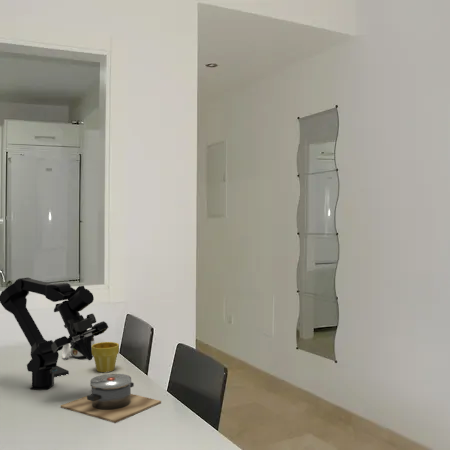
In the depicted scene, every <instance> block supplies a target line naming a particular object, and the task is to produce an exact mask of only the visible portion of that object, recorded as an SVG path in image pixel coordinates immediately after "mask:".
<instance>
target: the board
mask: <svg viewBox="0 0 450 450" xmlns="http://www.w3.org/2000/svg"><path fill="white" fill-rule="evenodd" d="M160 404H162V400H158V399H154V398H151V397H150V398H149V397H147V396H142V395H137V394H133V393H131V403H130V404H129V405H128V406H126V407H123V408H119V409H114V410H100V409H96V408H94V407H92V401H91V400H87V395H85V396H83V397H80V398H78V399H75V400H72V401H68V402H67V403H66V402H65V403H63V404H61V405H60V408H62V409H64V410H65V409H66V410H69V411H73V412H76V413H78V414H79V413H80V414H82V415H87V416H90V417H93V418H97V419H101V420H105V421H106V422H107V421H108V422H111V423H114V424H116V423H118V422H120V421H123V420H125V419H128V418H130V417H132V416H135V415H136V414H139V413H142V412H144V411H146V410H148V409H151V408H154V407H155V406H158V405H160Z"/></svg>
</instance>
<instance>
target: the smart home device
mask: <svg viewBox="0 0 450 450" xmlns="http://www.w3.org/2000/svg"><path fill="white" fill-rule="evenodd" d="M52 372H54V378H58V377H57V376H59V377H62V376H61V375H63V376H67V375H66V374H68V375H69V370H67V369H65V368H63V367H60V366H59V365H56V367H53V368H52Z"/></svg>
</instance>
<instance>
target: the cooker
mask: <svg viewBox="0 0 450 450" xmlns="http://www.w3.org/2000/svg"><path fill="white" fill-rule="evenodd" d="M134 386H135V383H134V382H132V381H131V384H130V385H128V386H126V387H123V388H118V389H110V390H102V389H95V388H93V387H91V394H87V395H86V396H87V400H91V401H92V407H94V408H96V409H100V410H114V409H119V408H123V407H126V406H128V405H129V404H130V403H131V394H132V393H131V388H133V387H134Z"/></svg>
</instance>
